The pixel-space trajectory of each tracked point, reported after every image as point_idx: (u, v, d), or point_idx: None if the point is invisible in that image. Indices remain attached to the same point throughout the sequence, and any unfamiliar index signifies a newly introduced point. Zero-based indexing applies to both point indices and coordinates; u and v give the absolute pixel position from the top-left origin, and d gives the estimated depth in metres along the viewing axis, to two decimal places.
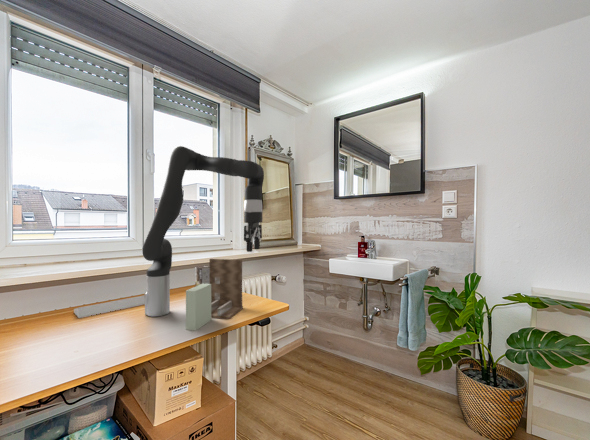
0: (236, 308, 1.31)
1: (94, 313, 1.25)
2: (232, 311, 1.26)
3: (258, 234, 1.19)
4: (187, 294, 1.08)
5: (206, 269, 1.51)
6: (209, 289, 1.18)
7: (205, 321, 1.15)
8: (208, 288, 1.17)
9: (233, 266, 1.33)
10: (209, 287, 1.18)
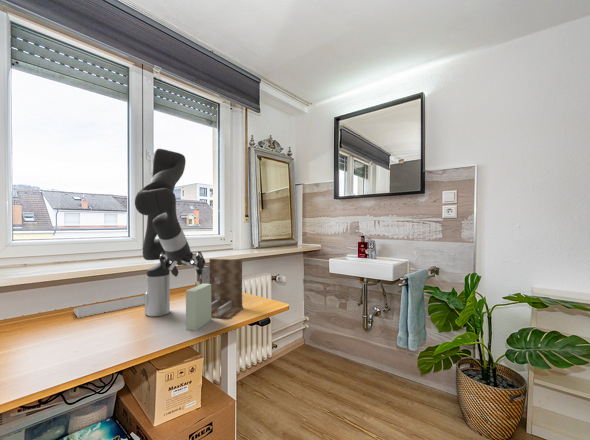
0: (236, 308, 1.31)
1: (93, 313, 1.25)
2: (232, 311, 1.26)
3: None
4: (187, 294, 1.08)
5: (206, 269, 1.51)
6: (209, 289, 1.18)
7: (205, 321, 1.15)
8: (208, 288, 1.17)
9: (233, 266, 1.33)
10: (209, 287, 1.18)
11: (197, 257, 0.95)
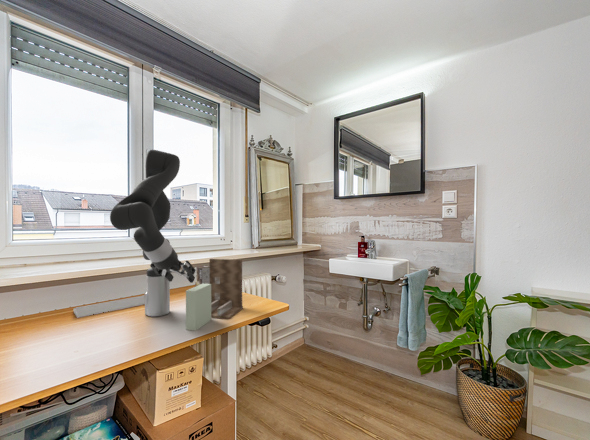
0: (236, 308, 1.31)
1: (93, 313, 1.25)
2: (232, 311, 1.26)
3: None
4: (187, 294, 1.08)
5: (206, 269, 1.51)
6: (209, 289, 1.18)
7: (205, 321, 1.15)
8: (208, 288, 1.17)
9: (233, 266, 1.33)
10: (209, 287, 1.18)
11: (184, 267, 0.94)
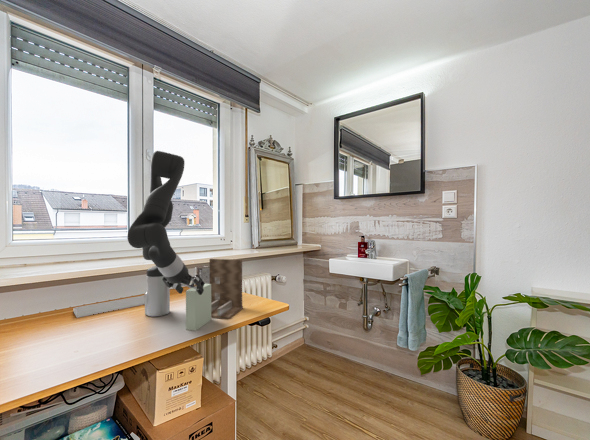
0: (236, 308, 1.31)
1: (92, 313, 1.26)
2: (232, 311, 1.26)
3: (188, 286, 1.03)
4: (187, 294, 1.08)
5: (206, 269, 1.51)
6: (209, 289, 1.18)
7: (205, 321, 1.15)
8: (208, 288, 1.17)
9: (233, 266, 1.33)
10: (209, 287, 1.18)
11: (194, 281, 0.99)
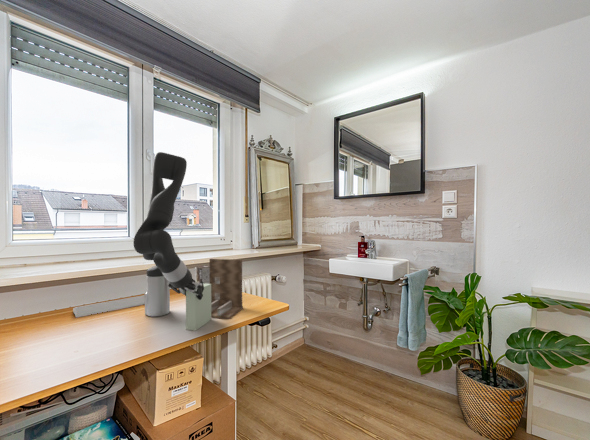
0: (236, 308, 1.31)
1: (91, 313, 1.26)
2: (232, 311, 1.26)
3: None
4: (187, 294, 1.08)
5: (206, 269, 1.51)
6: (209, 289, 1.18)
7: (205, 321, 1.15)
8: (208, 288, 1.17)
9: (233, 266, 1.33)
10: (209, 287, 1.18)
11: (199, 287, 1.02)
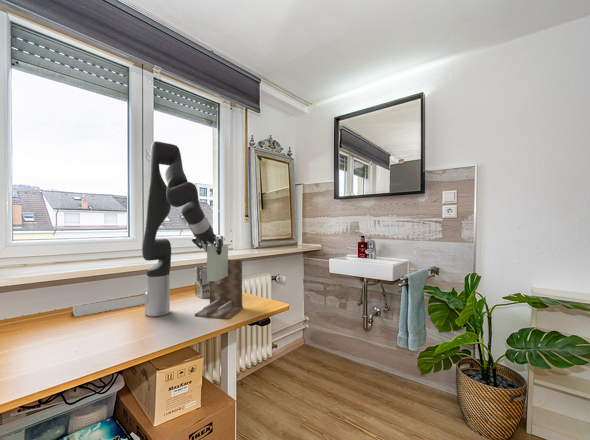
0: (236, 308, 1.31)
1: (90, 312, 1.26)
2: (232, 311, 1.26)
3: (211, 245, 1.18)
4: (208, 249, 1.21)
5: (206, 269, 1.51)
6: (226, 248, 1.31)
7: (223, 276, 1.28)
8: (225, 246, 1.30)
9: (233, 266, 1.33)
10: (226, 246, 1.31)
11: (219, 241, 1.16)
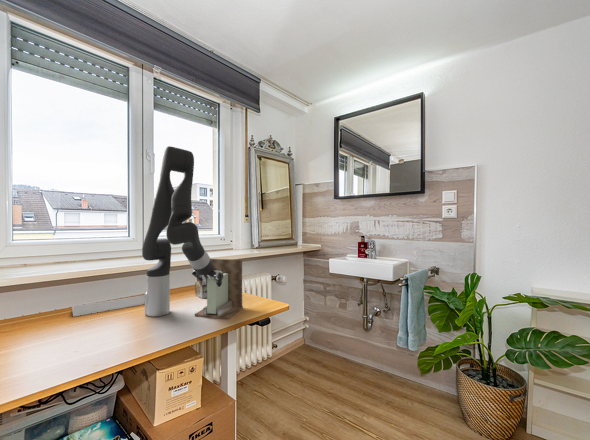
0: (236, 308, 1.31)
1: (88, 312, 1.26)
2: (232, 311, 1.26)
3: (211, 278, 1.18)
4: (208, 281, 1.21)
5: None
6: (226, 278, 1.31)
7: None
8: (225, 277, 1.30)
9: (233, 266, 1.33)
10: (226, 276, 1.31)
11: (219, 274, 1.16)
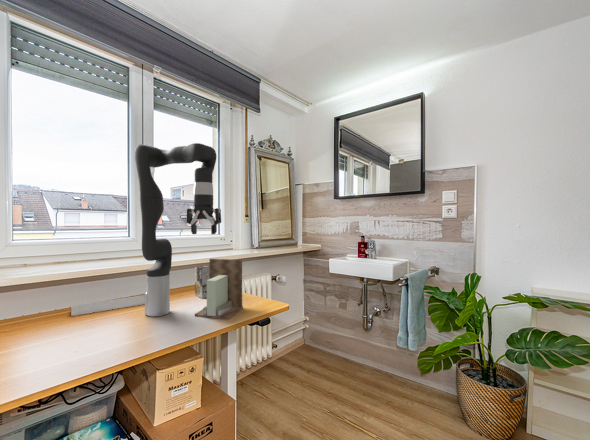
0: (236, 308, 1.31)
1: (87, 312, 1.27)
2: (232, 311, 1.26)
3: (207, 218, 1.13)
4: (208, 283, 1.21)
5: (206, 269, 1.51)
6: (226, 280, 1.30)
7: None
8: (225, 279, 1.30)
9: (233, 266, 1.33)
10: (226, 278, 1.31)
11: (216, 209, 1.13)
